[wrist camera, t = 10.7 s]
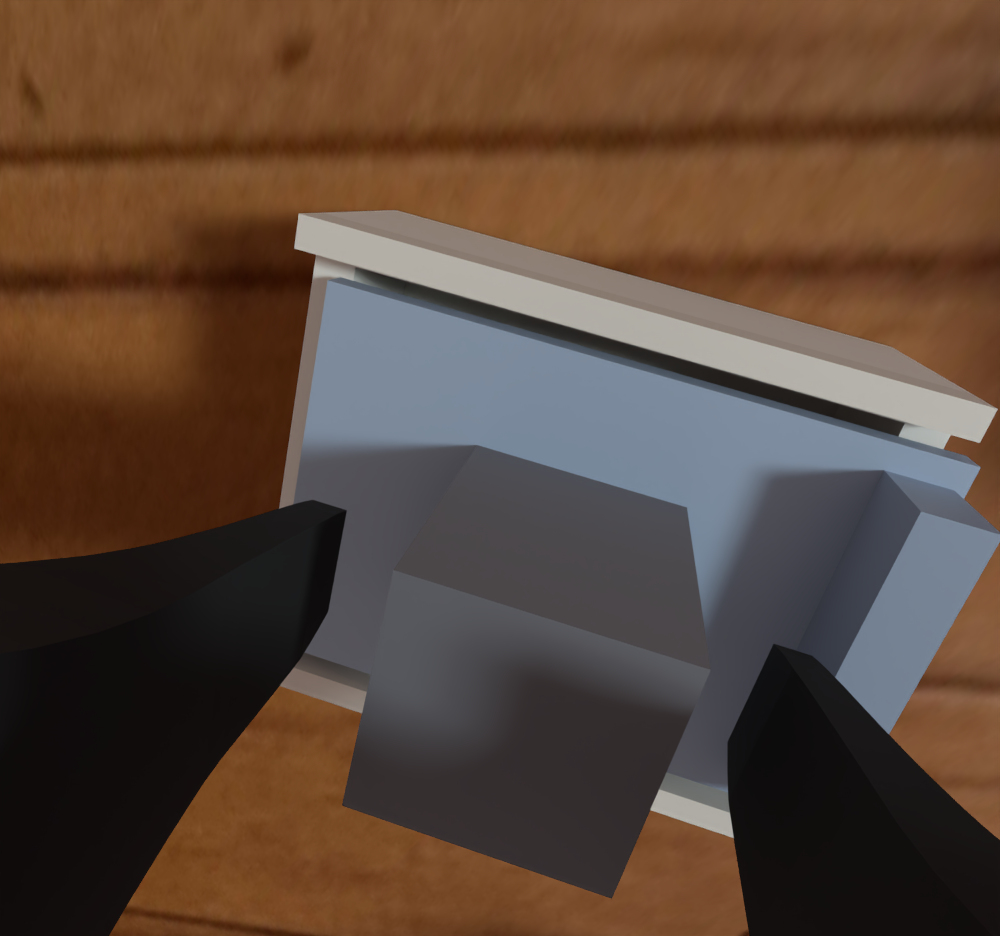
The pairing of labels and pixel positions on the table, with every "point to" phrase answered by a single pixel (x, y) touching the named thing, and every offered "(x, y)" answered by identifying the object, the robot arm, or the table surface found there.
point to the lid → (653, 472)
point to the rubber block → (533, 670)
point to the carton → (624, 333)
